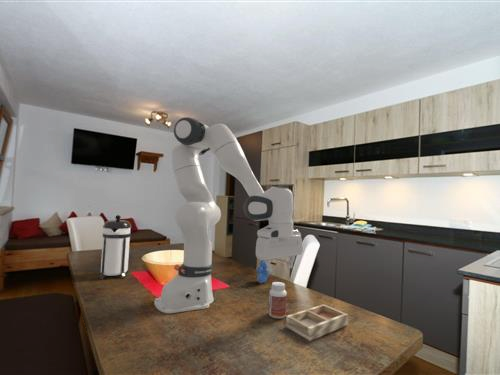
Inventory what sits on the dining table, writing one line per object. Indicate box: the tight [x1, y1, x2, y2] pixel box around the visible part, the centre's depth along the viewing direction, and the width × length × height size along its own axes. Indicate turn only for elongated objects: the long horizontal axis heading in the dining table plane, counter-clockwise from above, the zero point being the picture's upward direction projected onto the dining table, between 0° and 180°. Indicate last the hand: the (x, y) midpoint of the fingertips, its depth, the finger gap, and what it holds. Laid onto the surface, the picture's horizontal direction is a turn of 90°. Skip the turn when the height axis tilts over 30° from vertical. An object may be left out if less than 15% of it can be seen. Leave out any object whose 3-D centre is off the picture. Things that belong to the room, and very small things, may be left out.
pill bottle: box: [268, 281, 288, 319], centre depth 94 cm, size 6×6×11 cm
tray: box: [285, 304, 349, 342], centre depth 87 cm, size 19×10×4 cm, turn 127°
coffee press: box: [98, 214, 132, 280], centre depth 133 cm, size 17×16×30 cm
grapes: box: [256, 260, 270, 284], centre depth 131 cm, size 12×7×12 cm, turn 148°
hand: (280, 269), depth 95 cm, fingers open, 8 cm apart
